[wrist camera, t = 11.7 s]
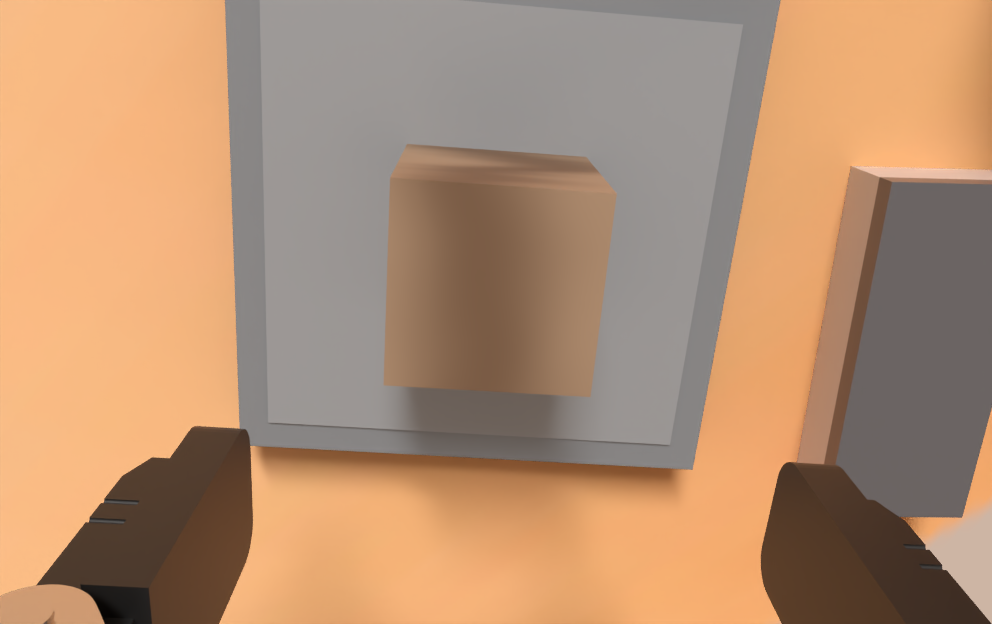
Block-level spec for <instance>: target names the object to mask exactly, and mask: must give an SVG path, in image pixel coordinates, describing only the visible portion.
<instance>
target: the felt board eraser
mask: <svg viewBox="0 0 992 624" xmlns="http://www.w3.org/2000/svg"><path fill="white" fill-rule="evenodd" d="M991 408H992V170H981V169H943V168H904V167H866V166H851V169H850V174H849V180H848V185H847V191H846V196H845V202H844V207H843V213H842V218H841V224H840V229H839V235H838V240H837V245H836V251H835V256H834V262H833V267H832V273H831V278H830V284H829V289H828V295H827V300H826V306H825V311H824V317H823V322H822V327H821V333H820V338H819V344H818V349H817V355H816V360H815V366H814V371H813V377H812V382H811V388H810V393H809V399H808V404H807V409H806V415H805V420H804V426H803V431H802V437H801V442H800V448H799V453H798V459H797V463H812V464H829V465H838V466H840V467H841V468H842V469H843V470H844V471H845V472H846V474H847V475H848V476H849V477H850V479H851V480H852V481H853V482H854V484H855V485H856V486H857V487H858V489H859V490H860V491H861V492H862V494H863V495H864V496H865V497H866V499H867V500H875V501H877V502H878V503H880V504H881V505H883V506H884V507H885V508H887V509H888V510H890V511H891V512H893V513H894V514H896V515H897V516H898V517H960V518H962V516H963V512H964V509H965V505H966V501H967V497H968V494H969V490H970V486H971V482H972V479H973V475H974V471H975V468H976V464H977V460H978V456H979V453H980V449H981V445H982V442H983V438H984V434H985V430H986V427H987V423H988V419H989V416H990V412H991Z"/></svg>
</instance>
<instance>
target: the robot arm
mask: <svg viewBox="0 0 992 624" xmlns="http://www.w3.org/2000/svg"><path fill="white" fill-rule="evenodd" d="M252 527H253V510H252V481H251V452H250V439H249V434H248V432H247V430H246V429H235V428H218V427H201V426H194V427H193V428H191V430H190V431H189V432H188V434H187V435H186V436H185V438H184V439H183V441H182V442H181V443H180V445H179V446H178V448H177V449H176V450H175V452H174V453H173V455H172V456H171V458H151V459H149V460H147V461H146V462H144V463H143V464H141V465H139V466H138V467H136V468H135V469H133V470H131V471H130V472H128V473H126V474H125V475H123V476H122V477H121V478H120V480H119V481H118V482H117V483H116V485H115V486H114V487H113V489H112V490H111V491H110V492H109V494H108V495H107V496H106V497H105V500H104V503H101V504H100V505H99V506H98V508H97V509H96V510H95V511H94V513H93V514H92V515H91V516H90V520H89V523H87V522H86V523H85V524H84V525H83V527H82V528H81V529H80V530H79V532H78V533H77V534H76V536H75V537H74V538H73V539H72V541H71V542H70V543H69V544H68V546H67V547H66V548H65V549H64V551H63V552H62V553H61V555H60V556H59V557H58V558H57V560H56V561H55V562H54V563H53V565H52V566H51V567H50V569H49V570H48V571H47V572H46V574H45V575H44V576H43V577H42V579H41V580H40V581H39V583H38V584H37V585H36V586H31V587H26V588H22V589H18V590H15V591H11V592H9V593H6V594H3V595H1V596H0V624H219V623H220V620H221V618H222V616H223V613H224V611H225V609H226V606H227V604H228V602H229V600H230V597H231V595H232V593H233V590H234V588H235V586H236V584H237V581H238V579H239V577H240V574H241V572H242V570H243V567H244V565H245V563H246V560H247V557H248V553H249V549H250V544H251V537H252ZM761 572H762V579H763V583H764V587H765V590H766V592H767V594H768V596H769V598H770V601H771V603H772V605H773V607H774V609H775V611H776V613H777V615H778V617H779V619H780V621H781V623H782V624H991V623H990V621H989V620H988V619H987V618H986V617H985V615H984V614H983V613H982V612H981V611H980V610H979V608H978V607H977V606H976V605H975V604H974V602H973V601H972V600H971V599H970V598H969V596H968V595H967V594H966V593H965V592H964V591H963V589H962V588H961V587H960V586H959V585H958V583H957V582H956V581H955V580H954V579H953V577H952V576H951V575H950V574H949V573H948V571H946V570H942V564H941V563H940V562H939V561H938V560H937V558H936V557H935V556H934V555H933V554H932V552H931V551H930V550H926V549H925V544H924V543H923V542H922V540H921V539H920V538H919V537H918V536H917V535H916V533H915V532H914V531H913V530H912V529H911V527H910V526H909V525H908V524H907V523H906V521H904V520H903V519H901V518H900V517H898V516H897V515H896V514H894V513H893V512H891V511H890V510H888V509H887V508H885V507H884V506H883V505H881V504H880V503H878V502H877V501H875V500H867V499H866V497H865V496H864V495H863V494H862V492H861V491H860V490H859V489H858V487H857V486H856V485H855V484H854V482H853V481H852V480H851V479H850V477H849V476H848V475H847V474H846V472H845V471H844V470H843V469H842V468H841V467H840V466H838V465H829V464H812V463H795V462H788V463H786V464H784V465H783V466H782V468H781V470H780V472H779V475H778V479H777V484H776V488H775V492H774V497H773V501H772V506H771V510H770V515H769V519H768V523H767V528H766V532H765V537H764V541H763V546H762V551H761Z"/></svg>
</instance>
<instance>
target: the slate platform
mask: <svg viewBox="0 0 992 624" xmlns="http://www.w3.org/2000/svg"><path fill="white" fill-rule="evenodd" d="M779 5H780V0H225V10H226V40H227V69H228V98H229V128H230V157H231V186H232V215H233V245H234V274H235V303H236V333H237V362H238V391H239V421H240V429H246V430H247V432H248V434H249V439H250V446H266V447H285V448H303V449H322V450H340V451H358V452H377V453H395V454H414V455H432V456H451V457H469V458H488V459H506V460H524V461H543V462H561V463H580V464H598V465H617V466H635V467H653V468H672V469H690V470H692V469H693V464H694V459H695V453H696V448H697V443H698V437H699V432H700V427H701V421H702V416H703V411H704V405H705V400H706V395H707V389H708V384H709V379H710V373H711V368H712V363H713V357H714V352H715V347H716V341H717V336H718V331H719V325H720V320H721V315H722V309H723V304H724V299H725V293H726V288H727V283H728V277H729V272H730V267H731V261H732V256H733V251H734V245H735V240H736V235H737V229H738V224H739V219H740V213H741V208H742V203H743V197H744V192H745V187H746V181H747V176H748V171H749V165H750V160H751V155H752V149H753V144H754V139H755V133H756V128H757V123H758V117H759V112H760V107H761V101H762V96H763V91H764V85H765V80H766V75H767V69H768V64H769V59H770V53H771V48H772V43H773V37H774V32H775V27H776V21H777V16H778V11H779ZM407 144H416V145H430V146H443V147H457V148H471V149H485V150H498V151H512V152H526V153H540V154H553V155H567V156H581V157H587V158H588V160H589V161H590V162H591V163H592V164H593V166H594V167H595V168H596V169H597V170H598V172H599V173H600V174H601V175H602V176H603V178H604V179H605V180H606V181H607V182H608V184H609V185H610V186H611V187H612V188H613V190H614V191H615V192H616V193H617V196H616V204H615V211H614V219H613V227H612V235H611V242H610V250H609V258H608V265H607V273H606V281H605V289H604V296H603V304H602V312H601V319H600V327H599V335H598V343H597V350H596V358H595V366H594V373H593V381H592V389H591V397H580V396H563V395H545V394H527V393H509V392H492V391H474V390H456V389H438V388H421V387H403V386H385V385H384V354H385V322H386V290H387V258H388V226H389V194H390V177H391V175H392V173H393V171H394V169H395V167H396V165H397V163H398V161H399V159H400V157H401V155H402V153H403V151H404V149H405V147H406V145H407Z"/></svg>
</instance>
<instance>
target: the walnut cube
mask: <svg viewBox="0 0 992 624" xmlns="http://www.w3.org/2000/svg"><path fill="white" fill-rule="evenodd" d="M616 196H617V193H616V192H615V191H614V190H613V188H612V187H611V186H610V185H609V184H608V182H607V181H606V180H605V179H604V178H603V176H602V175H601V174H600V173H599V172H598V170H597V169H596V168H595V167H594V166H593V164H592V163H591V162H590V161H589V160H588V158H587V157H581V156H567V155H553V154H540V153H526V152H512V151H498V150H485V149H471V148H457V147H443V146H430V145H416V144H407V145H406V147H405V149H404V151H403V153H402V155H401V157H400V159H399V161H398V163H397V165H396V167H395V169H394V171H393V173H392V175H391V177H390V194H389V226H388V258H387V290H386V322H385V354H384V385H385V386H403V387H421V388H438V389H456V390H474V391H492V392H509V393H527V394H545V395H563V396H580V397H591V389H592V381H593V373H594V366H595V358H596V350H597V343H598V335H599V327H600V319H601V312H602V304H603V296H604V289H605V281H606V273H607V265H608V258H609V250H610V242H611V235H612V227H613V219H614V211H615V204H616Z"/></svg>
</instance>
